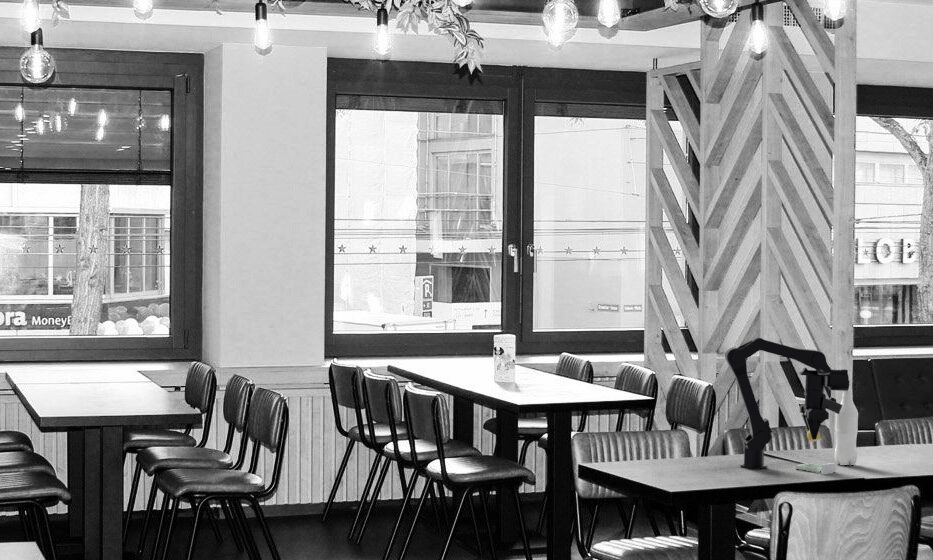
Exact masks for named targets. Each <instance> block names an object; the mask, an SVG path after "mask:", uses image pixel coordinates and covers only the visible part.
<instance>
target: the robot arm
mask: <svg viewBox="0 0 933 560" xmlns="http://www.w3.org/2000/svg"><path fill="white" fill-rule="evenodd" d="M759 351H762V352H765V353H769V354H772V355H777V356H780V357H784V358H788V359H791V360H795V361H797V362H799V363H802V364H803V365H805V366H808V367H810V368H812V369H808V368H807V367H804V368H803V369H802V370H801V371H799V375H800V376H805V387H804V389H805V390H804V392H803V396H804V403H802V404H801V405H799V413H800V414H801V417H802V419H803V422H804V425H805V428H806V431H807V432H808V431H809V430H810V433H811V436H812V439H816V438H817V434H818V432H819V430H820V427H821V424H822V423H824V421H826V420H830V413H829V411H832V412H834V413H835V414H836V413H837V414H839V413H840V410H841V408H842V405H841V404H840V403H839V402H837V399H836V398H835V397H832V396H831V397H829V398H827V395H826V393H825V387H826V388H828V391H839V392H840V391H841V392H843V391H848V389H850V380H849V379H850V378H849V373H848V369H846V368H845V369H842V368H841V369H832V368H831V367H830V365H829V364H828V363H827V358H826V357H827V356H826V355H825V354H824V353H823V352H822V351H819V350H816V349H809V348H808V349H806V348H795V347H793V346H790V345H789V346H788V345H785V344H781V343H779V342H778V343H777V342H775V341H771V340H768V339H767V340H766V339H763V338H762V337H759V336H758V337H754V338H753V339H751V340H750V341H747V342H745V343H743V344H742V345H740V346H738V347H735V346H733V347H729V348H728V349H727V350H726V352H725V354H724V359H725V361H726V363H727V364H728V367H729V368H730V370H731V372H732V373H733V376H734V377H735V380H736V382H737V386H738V389H739V391H740V395H741V398H742V401H743V404H744V407H745V411H746V414H747V416H748V417H747V418H748V425H749V426H748V427H749V432H750V433H749V435H747V436H746V437H745V438H744V439H743V444H744V446H745V447H744V450H743V451H744V453H743V457H744V459H743V464H739V467H740V466H741V467H740V468H745V467H746V468H747V469H751V468H753V470H761V469H760V468H762V469H767V468H768V465H764V463H765V462H764V461H765V460H764V459H765V452H764V451H765V450H764V449H765V447H766V445H767V444H768V443H770V441H771V439H772V434H773V430H772V429H771V427H770V421H769V419H768V418H766V417H765V418H763V417H762V415H761V412H760V410H759V406H758V404H757V403H758V402H757V400H756V396H755V393H754V391H753V389H752V388H753V387H752V385H751V381H750V379H749V376H748V367H747V359H748V358H750V357H751V356H753V355H755V354H756V353H758V352H759ZM813 369H814V370H813ZM818 370H819V371H821V372H824V373H819V371H818ZM827 410H829V411H827ZM803 413H804V414H803ZM766 467H767V468H766Z"/></svg>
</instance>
